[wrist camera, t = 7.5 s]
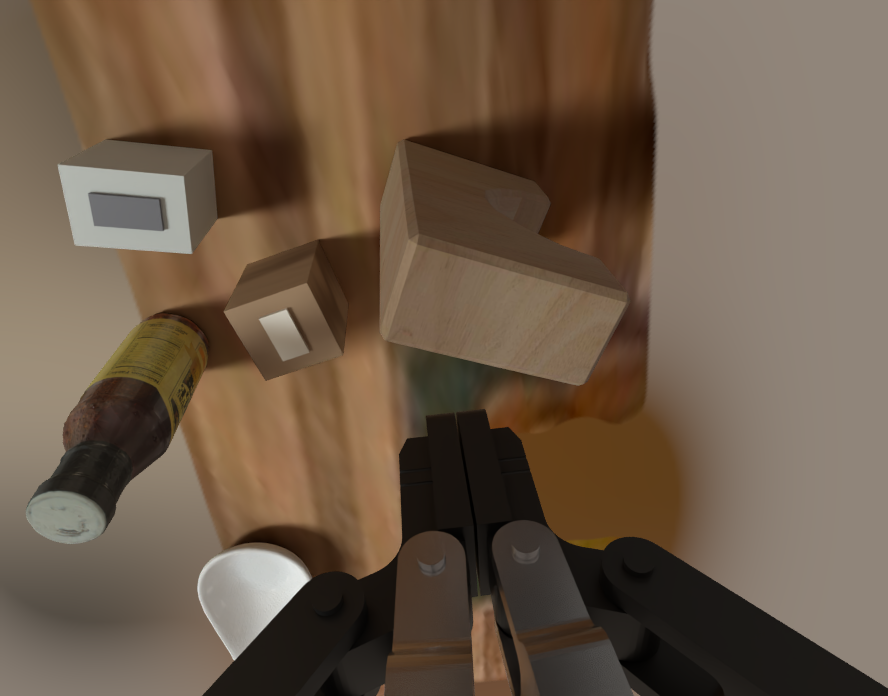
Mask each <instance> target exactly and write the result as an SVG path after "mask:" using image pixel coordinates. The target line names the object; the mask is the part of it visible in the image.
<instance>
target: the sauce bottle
mask: <svg viewBox="0 0 888 696" xmlns="http://www.w3.org/2000/svg"><path fill="white" fill-rule="evenodd" d="M208 348H209V346H208V341H207V338H206V336H205V334H204V333H203V332H202V331H201V330H200V329H199V327H198V326H197V325H196V324H195V323H193V322H192V321H190V320H189V319H187V318H184V317H181V316H179V315H172V314H165V313H158V314H155V315H153V316H150V317H148V318H147V319H145V320H144V321H142V322H141V323H140V324H139V325H137V326H136V327H135V328H134V329H133V330H132V331H131V332H130V333H129V334H128V336H127V337H126V339H125V340H124V341H123V342H122V344H121V345H120V346H119V348H118V349H117V350H116V351H115V353H114V354H113V355H112V357H111V358H110V359H109V360H108V362H107V363H106V364H105V366H104V367H103V368H102V370H101V371H100V372H99V374H98V375H97V376H96V377H95V379H94V380H93V381H92V383H91V384H90V385H89V387H88V388H87V389H86V391H85V393H84V394H83V396H82V397H81V399H80V401H79V403H78V405H77V406H76V407H75V408H74V409H73V410H72V411H71V413H70V415H69V416H68V418H67V421H66V422H65V424H64V428H63V444H64V447H65V450H66V453H65V455H64V456H63V457H62V458H61V462H60V464H59V466H58V467H57V469H56V470H55V472H54V473H53V475H52V476H51V478H50V479H48V480H46V481H45V482H43V483H42V484H41V485H40V486H39V487H38V489H37V491H36V492H35V494H34V495H33V497H32V498H31V500H30V502H29V503H28V506H27V509H26V516H27V520H28V522H29V523H30V524H31V525H32V527H33V528H34V529H35V531H36V532H38V533H39V534H41V535H42V536H44V537H46V538H48V539H51V540H53V541H57V542H61V543H68V544H74V543H82V542H87V541H90V540H93V539H95V538H97V537H98V536H99V535H101V534H102V533H103V532H104V531H105V530H106V528H107V526H108V524H109V523H110V521H111V520H112V518H113V516H114V514H115V510H116V503H117V501H118V499H119V497H120V495H121V493H122V491H123V490H124V488H125V487H126V485H127V484H128V483H129V482H130V481H131V480H132V479H133V478H134V477H135V476H137V475H138V474H139V473H141V472H142V471H143V470H144V469H146V468H147V467H148V466H149V465H151V464H152V463H153V462H154V461H155V460H157V459H158V458H159V457H161V456H162V455H163V454H164V453H165V452H166V450H167V448H168V446H169V444H170V442H171V440H172V438H173V436H174V434H175V432H176V430H177V427H178V425H179V423H180V421H181V419H182V417H183V415H184V413H185V411H186V409H187V406H188V404H189V402H190V400H191V398H192V395H193V393H194V391H195V389H196V387H197V385H198V383H199V381H200V378H201V376H202V374H203V372H204V370H205V368H206V365H207V361H208Z"/></svg>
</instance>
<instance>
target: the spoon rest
mask: <svg viewBox="0 0 888 696" xmlns="http://www.w3.org/2000/svg"><path fill="white" fill-rule="evenodd" d="M311 579H312V576H311V574H310V572H309V570H308V568H307V567H306V565H305V564H304V563H303V561H302V560H301V559H300V558H299V557H297V556H296V555H295V554H294V553H292V552H291V551H289V550H287V549H285V548H283V547H280V546H277V545H274V544H269V543H245V544H241V545H237V546H234V547H231V548H229V549H226V550H224V551H222V552H221V553H219V554H218V555H216V556H215V557H213V558H212V559H211V560H210V561H208V563H207V564H206V565H205V566H204V568H203V569H202V571H201V574H200V576H199V580H198V596H199V600H200V602H201V605H202V607H203V610H204V612H205V614H206V615H207V617H208V619H209V621H210V622H211V624H212V625H213V627H214V628H215V630H216V632H217V633H218V635H219V637H220V638H221V640H222V641H223V643H224V644H225V646H226V648H227V649H228V651H229V652H230V654H231V656H232V657H233V659H234V661H235V660H236V658H237V657H238V656H239V655H240V654H241V653H242V652H243V651H244V650H245V649H246V648H247V646H248V645H249V644H250V643H251V642H252V641H253V640H254V639H255V638H256V637H257V636H258V635H259V633H260V632H261V631H262V630H263V629H264V628H265V627H266V626H267V625H268V624H269V623H270V621H271V620H272V619H273V618H274V617H275V616H276V615H277V614H278V613H279V612H280V611H281V610H282V608H283V607H284V606H285V605H286V604H287V603H288V602H289V601H290V600H291V599H292V598H293V596H294V595H295V594H296V593H297V592H298V591H299V590H300V589H301V588H302V587H303V586H304V585H305V584H306V583H307V582H308V581H310V580H311Z"/></svg>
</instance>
